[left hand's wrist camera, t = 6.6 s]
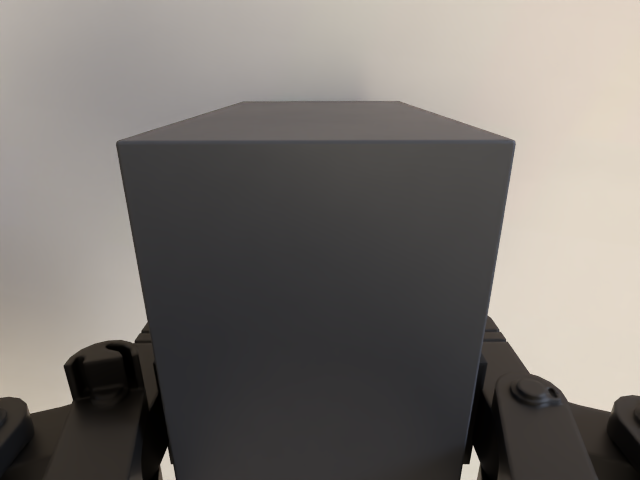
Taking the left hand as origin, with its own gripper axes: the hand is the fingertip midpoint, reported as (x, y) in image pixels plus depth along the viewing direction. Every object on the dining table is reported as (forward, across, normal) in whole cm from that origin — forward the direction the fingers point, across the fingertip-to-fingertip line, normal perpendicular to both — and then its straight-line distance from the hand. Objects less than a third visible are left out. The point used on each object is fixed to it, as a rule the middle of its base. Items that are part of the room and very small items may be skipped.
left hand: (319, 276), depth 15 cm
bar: (+1, 0, -29) cm, 29 cm away
